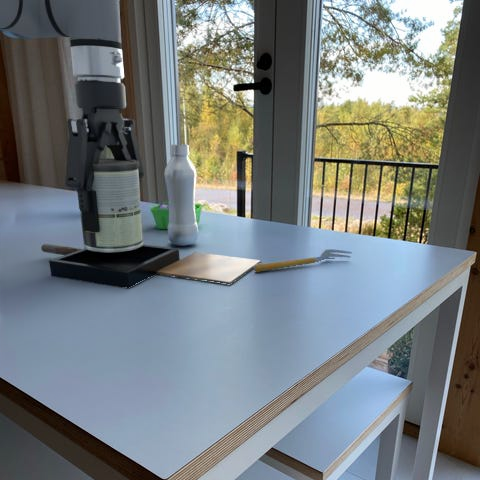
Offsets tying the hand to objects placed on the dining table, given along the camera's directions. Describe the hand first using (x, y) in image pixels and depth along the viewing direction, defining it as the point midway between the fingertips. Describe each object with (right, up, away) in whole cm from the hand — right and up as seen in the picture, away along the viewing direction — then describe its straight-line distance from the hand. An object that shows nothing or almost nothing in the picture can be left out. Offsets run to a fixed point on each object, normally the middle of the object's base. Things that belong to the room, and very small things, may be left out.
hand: (112, 224), depth 82 cm
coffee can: (0, -3, +2) cm, 4 cm away
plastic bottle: (+10, -1, +19) cm, 22 cm away
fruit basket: (+7, +6, +36) cm, 37 cm away
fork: (+34, -7, +5) cm, 35 cm away
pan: (-4, -7, +5) cm, 9 cm away
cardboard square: (+17, -7, +4) cm, 19 cm away
